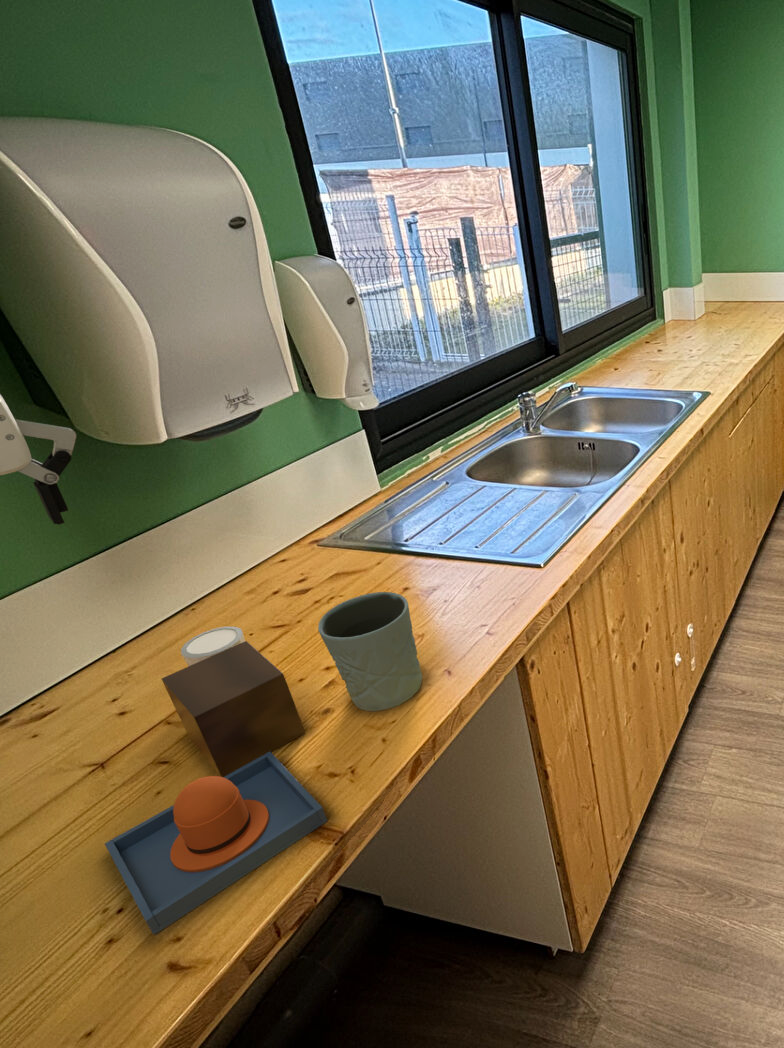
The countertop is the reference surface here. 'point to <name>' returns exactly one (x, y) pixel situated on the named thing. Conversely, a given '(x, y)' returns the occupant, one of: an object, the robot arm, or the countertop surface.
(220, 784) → the hat
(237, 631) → the shot glass
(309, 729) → the countertop surface
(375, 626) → the grey-green cup
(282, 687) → the stand block
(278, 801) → the tray
